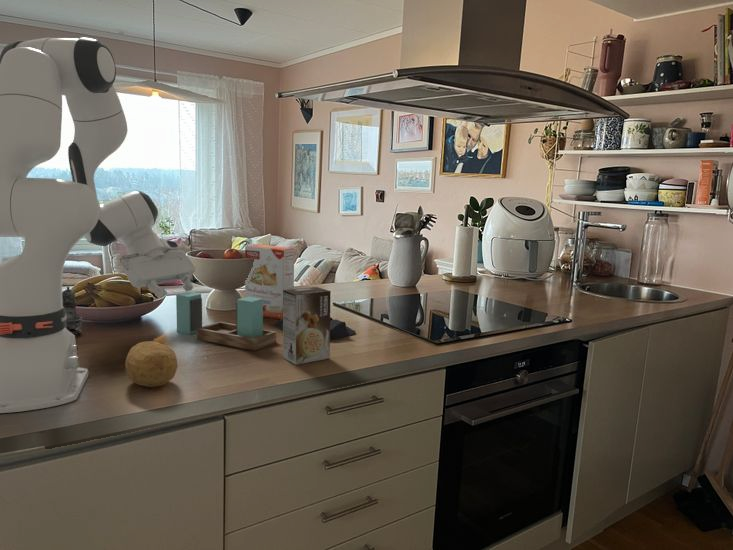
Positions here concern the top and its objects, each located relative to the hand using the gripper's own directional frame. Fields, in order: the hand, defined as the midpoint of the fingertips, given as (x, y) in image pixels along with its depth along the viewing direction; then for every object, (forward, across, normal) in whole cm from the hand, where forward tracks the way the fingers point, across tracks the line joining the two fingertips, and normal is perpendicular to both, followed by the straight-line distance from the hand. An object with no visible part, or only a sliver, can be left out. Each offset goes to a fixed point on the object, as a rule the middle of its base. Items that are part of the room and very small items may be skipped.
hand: (177, 292), depth 146 cm
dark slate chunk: (+29, +19, -14) cm, 38 cm away
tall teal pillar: (+10, 0, +4) cm, 11 cm away
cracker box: (+15, +26, 0) cm, 30 cm away
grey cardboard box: (+37, -3, -23) cm, 43 cm away
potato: (+24, -32, -10) cm, 42 cm away
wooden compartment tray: (+21, 0, -7) cm, 22 cm away
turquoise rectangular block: (+23, 0, -11) cm, 25 cm away
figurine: (-7, -17, +21) cm, 28 cm away
